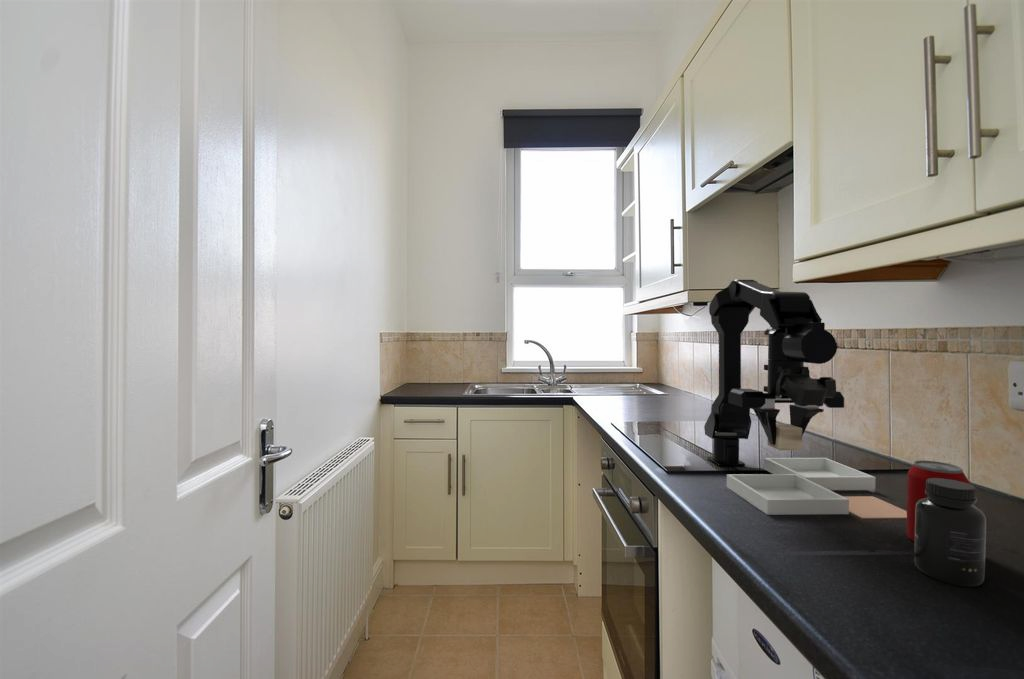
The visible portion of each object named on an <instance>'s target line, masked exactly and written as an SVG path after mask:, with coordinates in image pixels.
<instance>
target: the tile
mask: <svg viewBox="0 0 1024 679" xmlns="http://www.w3.org/2000/svg"><path fill="white" fill-rule="evenodd" d="M844 497H845V498H847V499H849V513H851V514H852V515H855V516H856V517H859V518H860V519H862V520H863V519H865V520H866V519H867V520H869V519H871V520H873V519H877V520H878V519H879V520H881V519H907V510H905V509H903V508H901V507H898V506H896V505H893V504H891V503H890V502H888V501H884V500H882V499H880V498H878V497H875V496H871V495H870V496H861V495H860V496H852V495H851V496H844Z"/></svg>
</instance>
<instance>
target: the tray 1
mask: <svg viewBox="0 0 1024 679" xmlns="http://www.w3.org/2000/svg"><path fill="white" fill-rule="evenodd" d="M726 488H727V489H729V490H731V491H732V492H733V493H735V494H736V495H738V496H739V497H741V498H742V499H744V500H745V501H746V502H748V503H749V504H751V505H752V506H754V507H755V508H757V509H758V510H760V511H761V512H763V513H764V514H765V515H769V516H771V515H772V516H776V515H777V516H780V515H781V516H786V515H791V516H793V515H795V516H797V515H798V516H799V515H800V516H801V515H802V516H803V515H806V516H807V515H810V516H811V515H850V512H849V499H847V498H845V497H846V496H843V495H840V494H838V493H836V492H835V491H834V490H828V489H826V488H824V487H822V486H820V485H818V484H816V483H814V482H812V481H810V480H808V479H806V478H803V477H801V476H799V475H797V474H772V473H768V474H767V473H765V474H764V473H760V474H759V473H754V474H753V473H751V474H749V473H747V474H746V473H745V474H744V473H740V474H739V473H738V474H736V473H735V474H734V473H733V474H730V473H729V474H726Z"/></svg>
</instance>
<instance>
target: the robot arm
mask: <svg viewBox="0 0 1024 679" xmlns="http://www.w3.org/2000/svg"><path fill="white" fill-rule="evenodd" d="M755 308H757V309H759V316H760V317H761V318H762V319H763V320H764V321H765V322H767V323H768V324H769V327H768V328H766V329H765V331H764V335H765V336H767V337H768V338H767V339H768V340H767V341H768V342H767V347H768V349H767V353H768V354H767V359H768V360H767V364H763V370H764V371H767V385H763V391H761V390H757V389H753V388H742V341H741V340H742V333H743V332H744V330H745V328H746V327H747V325H748V324H749V319H750V314H751V313H752V312H753V311H754V309H755ZM708 312H709V315H710V318H711V325H712V326H713V328H714V329H715V330H716V332H717V334H718V395H717V396H716V398H715V399H714V401H713V402H712V403H711V409H710V414H709V415H708V417H707V419H706V421H705V424H704V427H703V428H704V435H706V436H707V437H708V438H710V439H712V456H707V457H706V459H707V458H708V459H710V460H711V461H710V460H709V461H710V462H712V461H713V462H715V463H717V464H719V465H745V466H746V463H745V462H743V461H741V460H740V440H742V439H743V440H749V436H750V432H751V427H752V426H751V425H752V419H751V410H753V411H754V413H755V415H756V417H757V418H758V420H759V423H760V424H761V426H762V428H763V431H764V433H765V436H766V439H767V441H768V440H769V442H770V444H771V445H775V443H776V424H777V416H778V415H779V413H780V411H781V409H779V408H775V407H776V404H788V405H789V406H788V407H789V408H788V409H789V419H790V424H791V425H794V426H797V427H800V428H802V437H803V435H804V434H805V432H806V429H807V427H808V425H809V423H810V421H811V420H812V418H814V416H816V415H818V414H819V413H823V412H824V410H825V409H823V408H821V407H823V406H826V408H830V409H834V408H836V409H838V408H839V409H841V408H842V409H844V408H845V397H844V395H843V394H842V392H841V391H839V390H837V382H836V381H837V380H836V379H835V378H834V377H832V376H820V377H819V378H813V377H811V375H810V369H809V366H805V365H804V364H805V363H807V364H808V363H809V364H815V365H816V364H817V365H822V364H826V363H828V362H830V361H831V360H832V359H833V358H834V357H835V356H836V353H837V350H838V343H837V341H836V338H835V337H834V336H833V334H832V333H831V332H829V331H828V330H826V329H825V328H826V323H825V322H822V317H820V314H819V313H818V312H817V309H816V307H815V305H814V303H813V301H812V299H811V296H810V295H809V294H808V293H807V292H804V291H779V290H778V289H774V288H773V287H770V286H768V285H764V284H762V283H760V282H758V281H757V280H755V279H735V280H731V281H730V284H729V285H728V286H727V287H725V288H723V289H721V290H720V291H718V292H716V293H715V295H714V296H713V298H712V299H711V301H710V302H709V307H708ZM791 403H792V404H791ZM708 459H707V460H708ZM713 462H712V463H713ZM715 463H714V464H715ZM717 464H716V465H717ZM719 465H718V466H719Z"/></svg>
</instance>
